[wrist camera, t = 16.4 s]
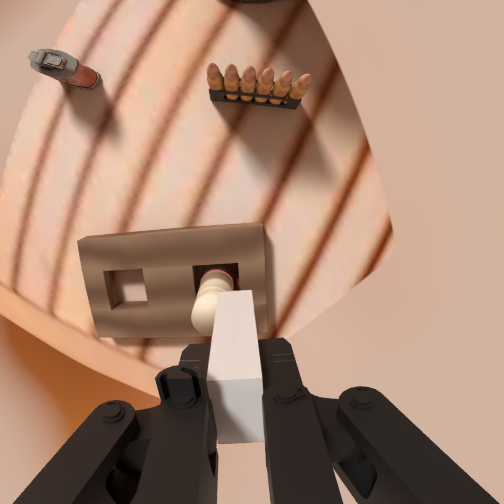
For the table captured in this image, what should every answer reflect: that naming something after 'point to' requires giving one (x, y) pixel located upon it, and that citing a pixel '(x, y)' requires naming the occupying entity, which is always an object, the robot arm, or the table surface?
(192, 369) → the robot arm
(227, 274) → the birch dowel
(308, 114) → the table surface
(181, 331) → the walnut board
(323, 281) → the table surface
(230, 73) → the ammunition clip
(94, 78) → the lighter
